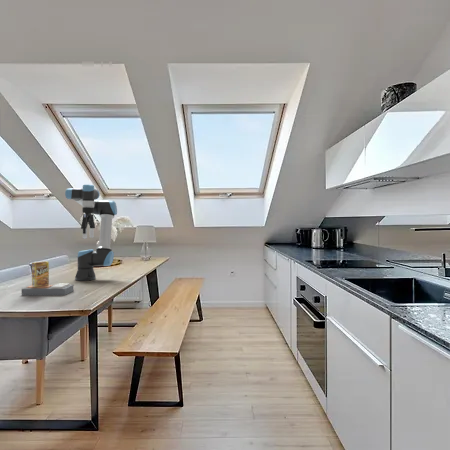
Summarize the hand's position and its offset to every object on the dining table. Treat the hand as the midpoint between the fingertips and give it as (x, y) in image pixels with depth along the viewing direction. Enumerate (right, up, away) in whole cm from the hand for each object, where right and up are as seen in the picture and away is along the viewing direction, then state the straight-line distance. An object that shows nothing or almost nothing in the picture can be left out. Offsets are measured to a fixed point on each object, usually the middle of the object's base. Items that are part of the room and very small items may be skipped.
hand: (88, 238), depth 239 cm
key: (-24, -32, -18) cm, 44 cm away
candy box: (-23, -30, -18) cm, 42 cm away
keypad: (-19, -34, -18) cm, 43 cm away
